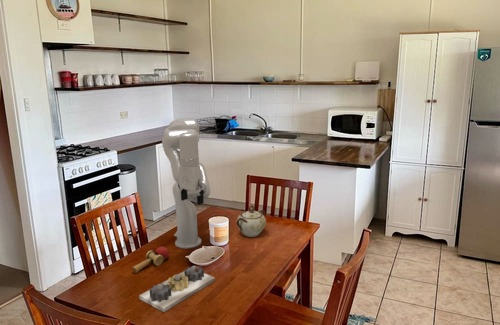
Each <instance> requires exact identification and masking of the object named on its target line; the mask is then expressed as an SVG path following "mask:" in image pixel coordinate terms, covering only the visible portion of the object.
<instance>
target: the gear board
mask: <svg viewBox="0 0 500 325" xmlns="http://www.w3.org/2000/svg"><path fill="white" fill-rule="evenodd" d="M181 274H183V276H187V277H188V287H187V288H184V289H183V291H180V290H176V291H173V290H172V289H171V287H169V284H168V281H169V280H168V279H166V280H165V281H163V282H161V283H158V284H157V285H156V284H154V285H152V287H151V288H149V289H148V290H146V291H145V292H143V293H141V294H139V295H138V296H139V298H138V299H139V300H141V301H142V302H145V303H146V304H148V305H150V306H152V307H153V308H155V309H157V310H159V311H160V312H163V313H165V312H167V311H168V310H170V309H172V308H174V306H177V305H178V304H180V303H181V302H183V301H185V300H186V299H188V298H189V297H191V296H193V295H195V294H196V293H198V292H200V291H201V290H203V289H204V288H206V287H209V285H211V284H212V283H214V282H215V281H216V277H214V276H212V275H210V274H207V273H205V270H204V268H203V267H202V265H201V266H198V265H197V266H196V265H192V266H191V267H189V266H188V267H186V269H184V271H182V272H180V273H178V274H174V275H175V280H176V281H180V275H181Z"/></svg>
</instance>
